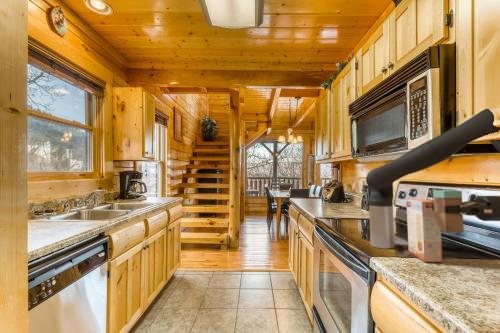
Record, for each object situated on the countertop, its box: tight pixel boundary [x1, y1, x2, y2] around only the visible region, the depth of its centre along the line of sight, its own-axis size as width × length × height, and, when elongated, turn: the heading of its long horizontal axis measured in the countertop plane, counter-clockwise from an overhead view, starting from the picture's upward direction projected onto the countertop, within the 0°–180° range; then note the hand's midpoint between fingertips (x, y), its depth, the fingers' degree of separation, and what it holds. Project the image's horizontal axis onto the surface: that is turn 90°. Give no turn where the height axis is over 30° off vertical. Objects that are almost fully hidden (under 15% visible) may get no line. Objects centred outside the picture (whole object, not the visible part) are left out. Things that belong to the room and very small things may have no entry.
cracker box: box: [406, 198, 443, 263], centre depth 96 cm, size 14×6×21 cm, turn 168°
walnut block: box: [432, 189, 465, 233], centre depth 80 cm, size 5×5×12 cm
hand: (439, 208), depth 80 cm, fingers closed on walnut block, 5 cm apart
